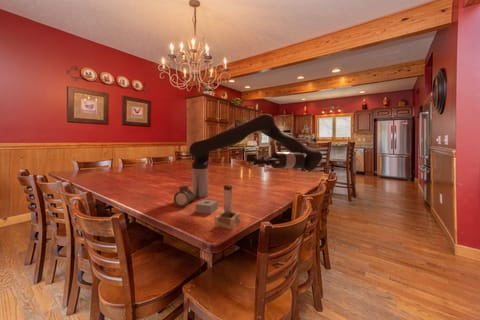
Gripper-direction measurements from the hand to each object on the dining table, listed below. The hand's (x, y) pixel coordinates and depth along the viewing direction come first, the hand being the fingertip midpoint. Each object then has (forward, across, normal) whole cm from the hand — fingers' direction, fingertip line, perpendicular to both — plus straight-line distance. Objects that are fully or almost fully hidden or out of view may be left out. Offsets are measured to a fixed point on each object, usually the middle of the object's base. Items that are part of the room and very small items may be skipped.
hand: (250, 160), depth 92 cm
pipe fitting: (+24, -31, +27) cm, 47 cm away
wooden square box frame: (+11, +4, +26) cm, 28 cm away
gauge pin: (+11, +4, +26) cm, 28 cm away
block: (+15, -16, +26) cm, 34 cm away
